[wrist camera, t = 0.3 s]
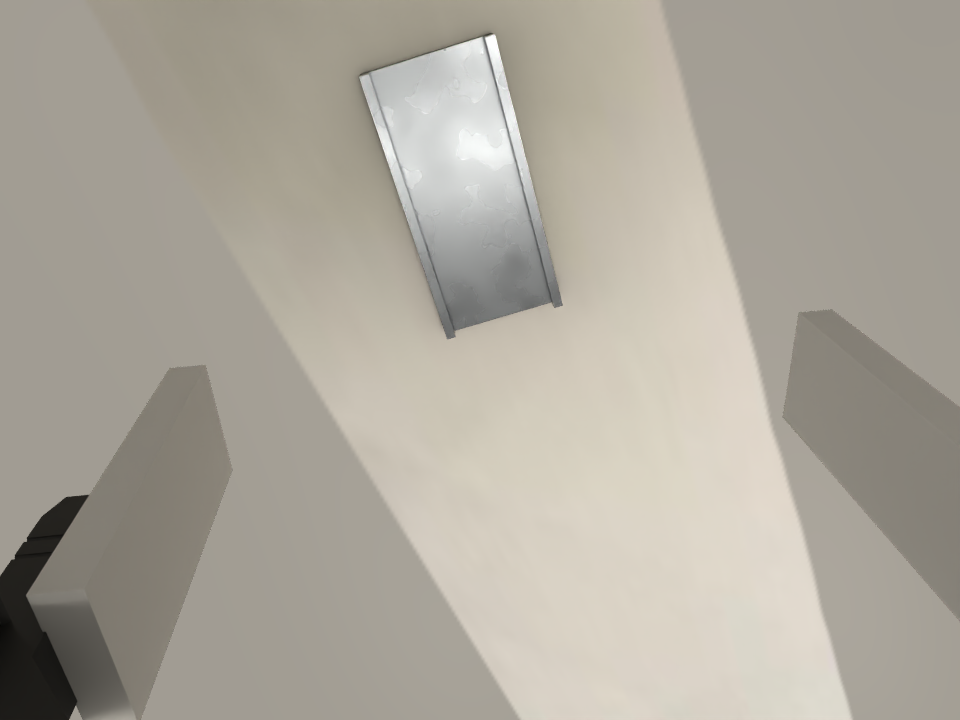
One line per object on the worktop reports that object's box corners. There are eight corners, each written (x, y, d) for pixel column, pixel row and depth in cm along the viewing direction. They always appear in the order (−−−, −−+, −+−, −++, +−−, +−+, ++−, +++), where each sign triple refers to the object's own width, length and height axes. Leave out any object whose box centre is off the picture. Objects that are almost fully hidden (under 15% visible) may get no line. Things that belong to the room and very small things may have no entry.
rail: (360, 74, 38) (358, 77, 36) (492, 32, 37) (494, 34, 36) (446, 329, 44) (447, 339, 43) (558, 296, 44) (562, 305, 43)
